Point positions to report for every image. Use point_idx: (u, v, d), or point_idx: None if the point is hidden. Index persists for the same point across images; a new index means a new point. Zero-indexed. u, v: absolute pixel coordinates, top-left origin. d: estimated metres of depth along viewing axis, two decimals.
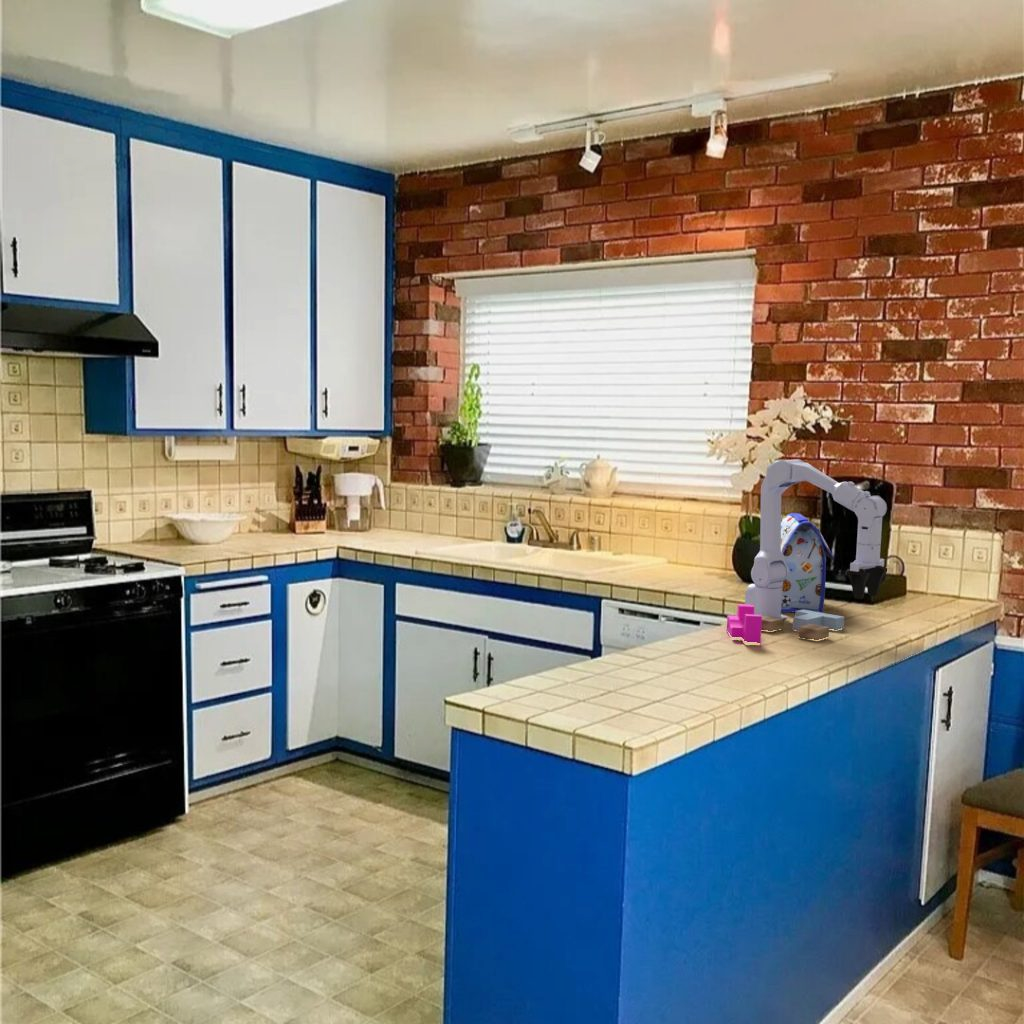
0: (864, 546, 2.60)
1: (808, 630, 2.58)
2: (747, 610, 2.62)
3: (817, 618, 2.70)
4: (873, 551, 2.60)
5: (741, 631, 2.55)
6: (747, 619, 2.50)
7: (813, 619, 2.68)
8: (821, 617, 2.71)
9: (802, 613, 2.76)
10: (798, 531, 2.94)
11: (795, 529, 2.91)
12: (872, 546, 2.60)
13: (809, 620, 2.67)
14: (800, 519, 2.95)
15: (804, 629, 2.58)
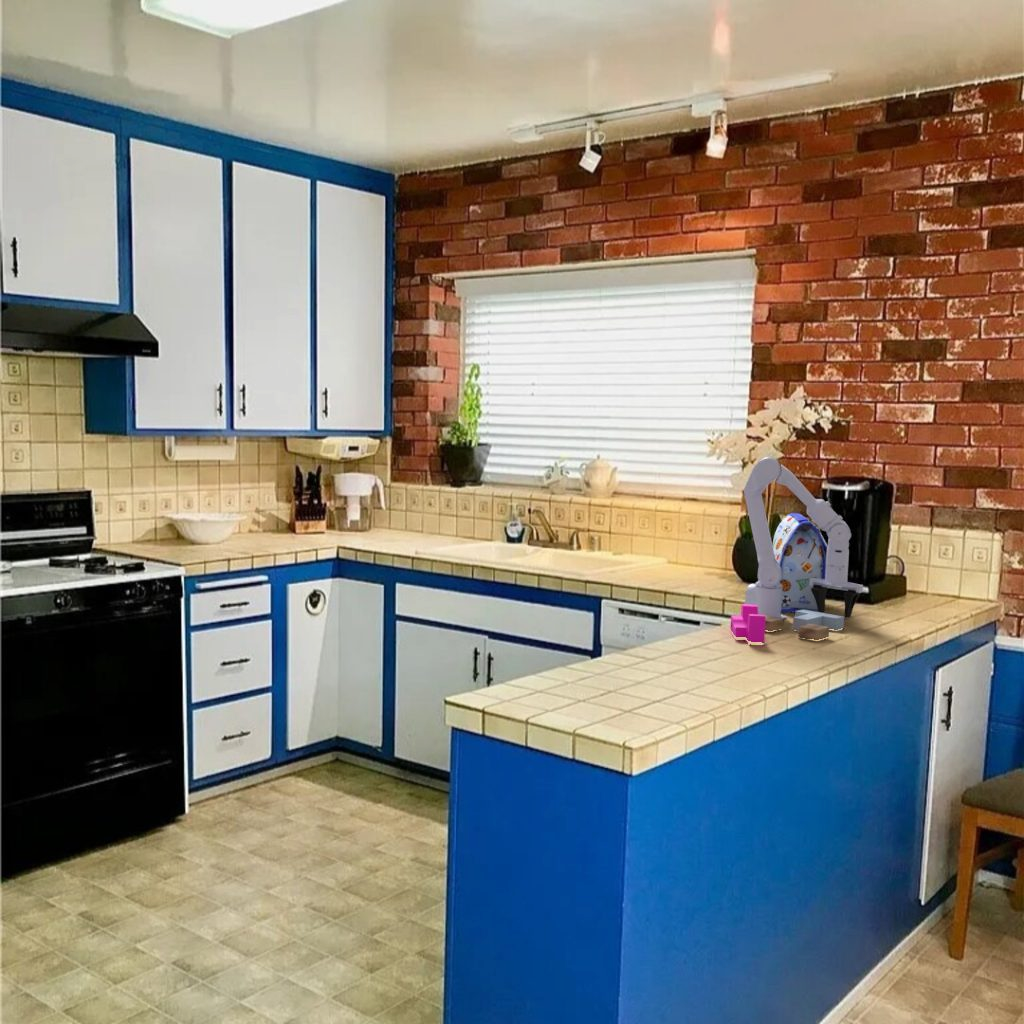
0: None
1: (808, 630, 2.58)
2: (751, 610, 2.62)
3: (817, 618, 2.70)
4: (826, 570, 2.79)
5: (745, 631, 2.55)
6: (751, 619, 2.50)
7: (813, 619, 2.68)
8: (821, 617, 2.71)
9: (802, 613, 2.76)
10: (798, 531, 2.94)
11: (795, 529, 2.91)
12: (826, 566, 2.79)
13: (809, 620, 2.67)
14: (800, 519, 2.95)
15: (804, 629, 2.58)
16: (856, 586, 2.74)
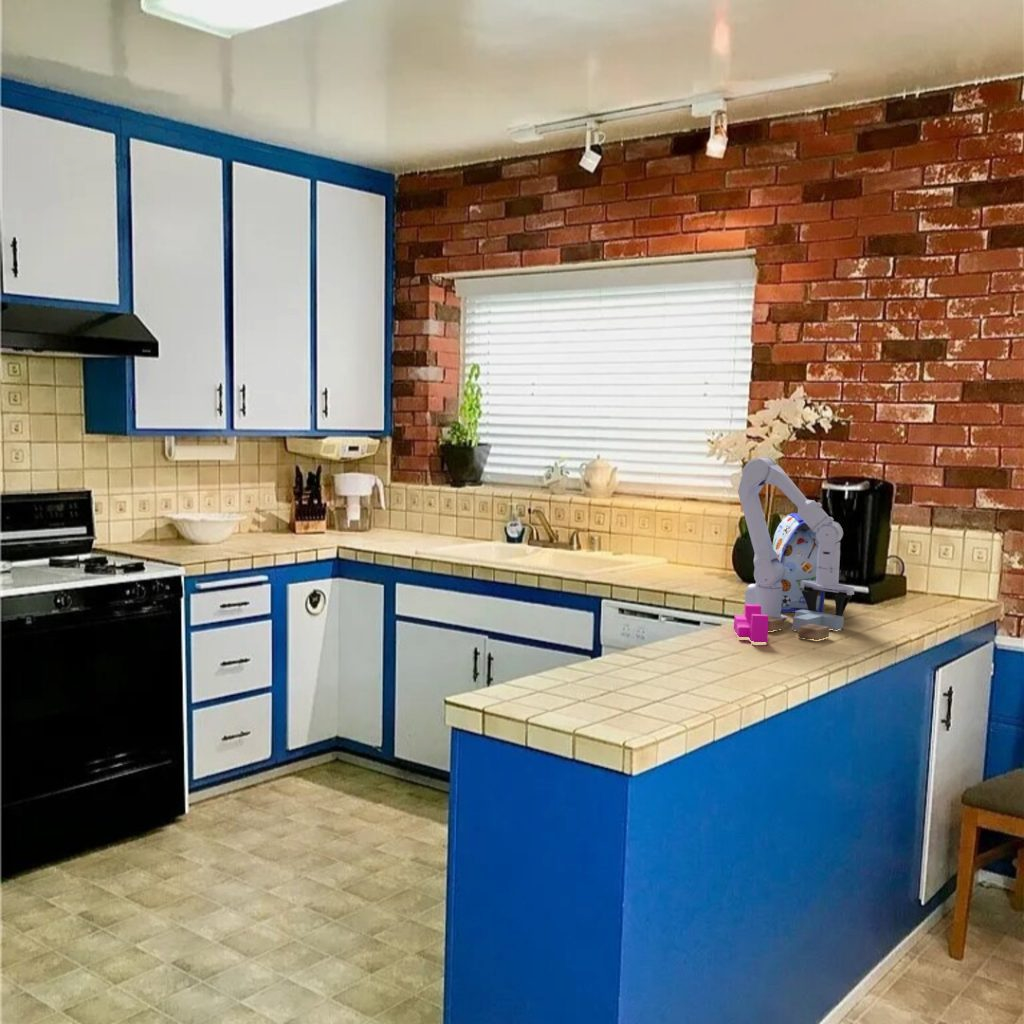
0: None
1: (808, 630, 2.58)
2: (754, 610, 2.63)
3: (817, 618, 2.70)
4: (817, 572, 2.75)
5: (748, 631, 2.56)
6: (754, 619, 2.51)
7: (813, 619, 2.68)
8: (821, 617, 2.71)
9: (802, 613, 2.76)
10: (798, 531, 2.94)
11: (795, 529, 2.91)
12: (817, 568, 2.75)
13: (809, 620, 2.67)
14: (800, 519, 2.95)
15: (804, 629, 2.58)
16: (847, 588, 2.71)
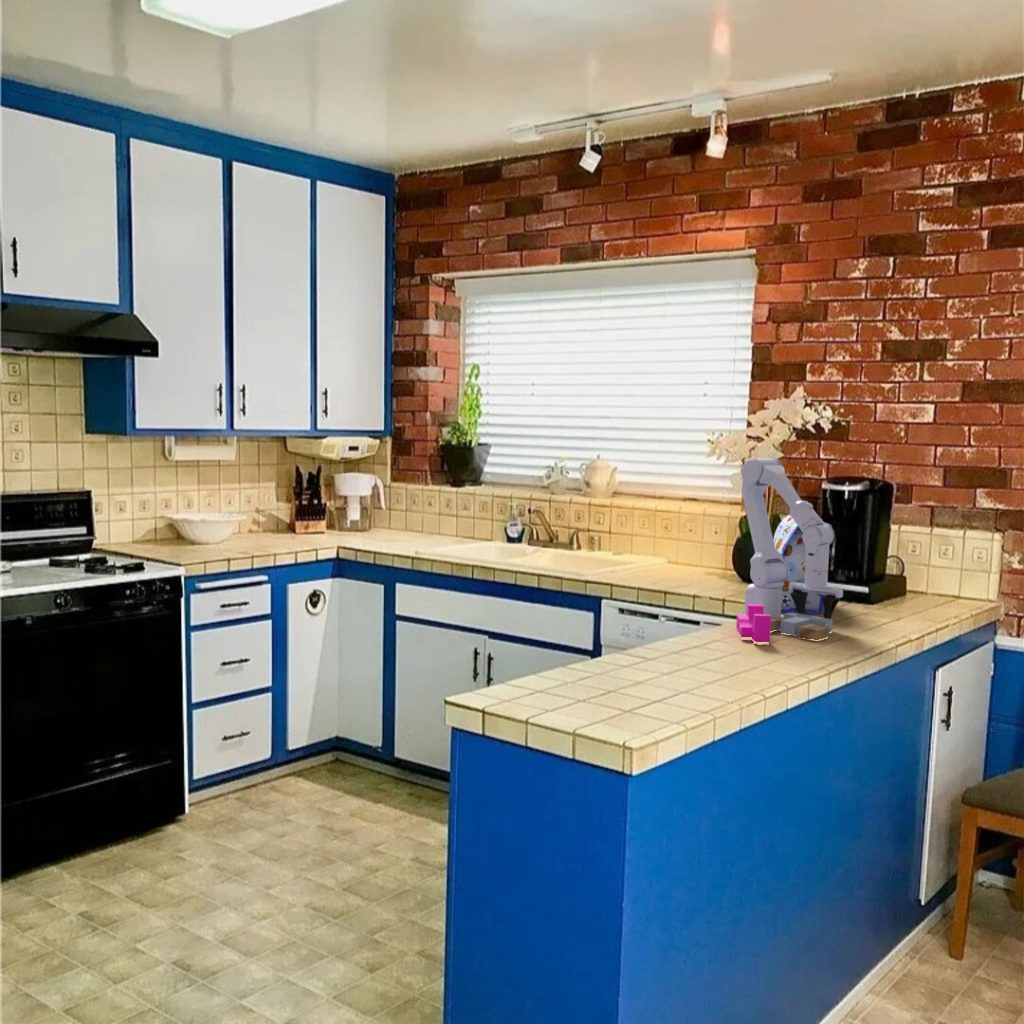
0: None
1: (808, 630, 2.58)
2: (757, 609, 2.63)
3: (805, 621, 2.65)
4: (805, 575, 2.71)
5: (750, 631, 2.56)
6: (756, 619, 2.51)
7: (801, 622, 2.64)
8: (809, 620, 2.67)
9: (790, 616, 2.71)
10: (798, 531, 2.94)
11: (795, 529, 2.91)
12: (805, 570, 2.71)
13: (797, 623, 2.62)
14: None
15: (804, 629, 2.58)
16: (836, 591, 2.67)
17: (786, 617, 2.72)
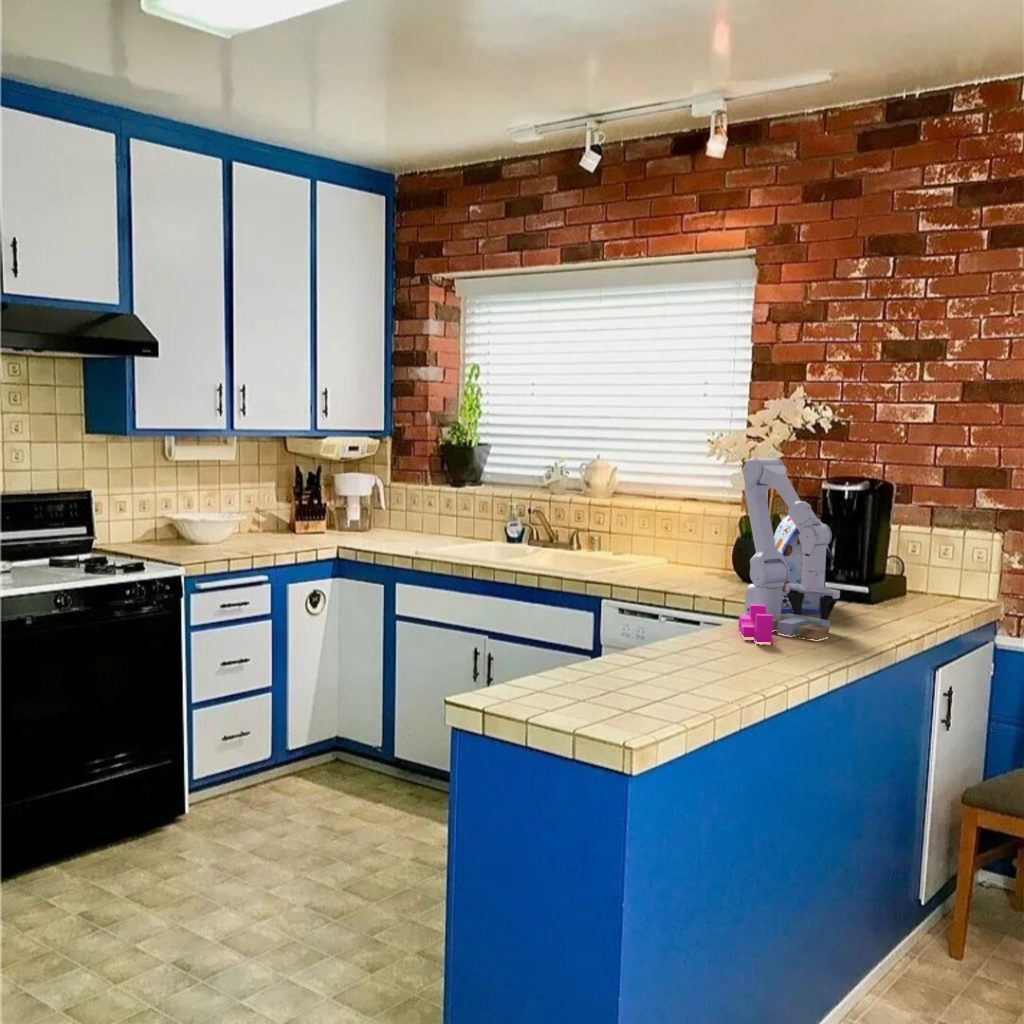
0: None
1: (808, 630, 2.58)
2: (759, 609, 2.63)
3: (802, 622, 2.64)
4: (802, 575, 2.70)
5: (752, 630, 2.56)
6: (758, 619, 2.51)
7: (798, 623, 2.63)
8: (806, 621, 2.66)
9: (787, 617, 2.70)
10: (798, 531, 2.94)
11: (795, 529, 2.91)
12: (802, 571, 2.70)
13: (793, 624, 2.61)
14: None
15: (804, 629, 2.58)
16: (832, 592, 2.65)
17: (783, 618, 2.71)
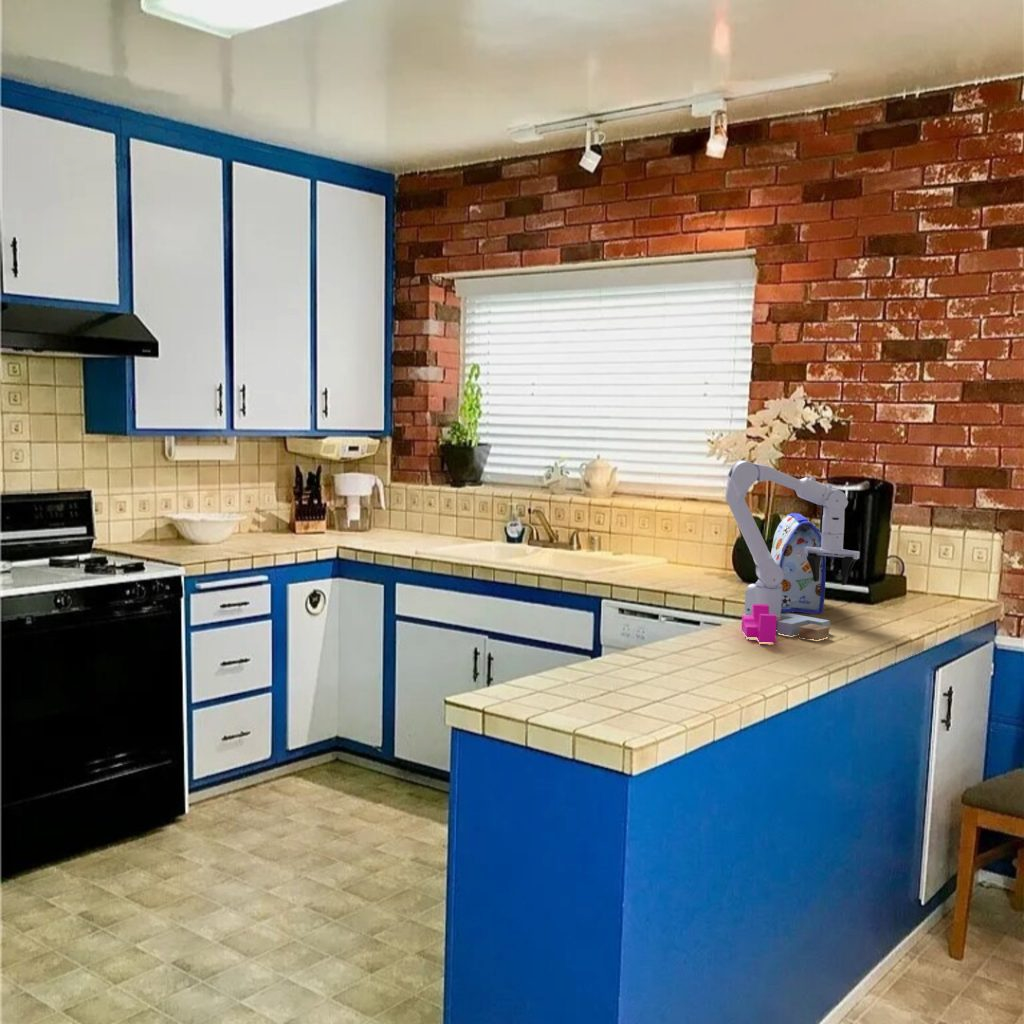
0: None
1: (808, 630, 2.58)
2: (762, 609, 2.63)
3: (802, 622, 2.64)
4: (823, 538, 2.80)
5: (756, 630, 2.56)
6: (762, 618, 2.51)
7: (798, 623, 2.63)
8: (806, 621, 2.66)
9: (787, 617, 2.70)
10: (798, 531, 2.94)
11: (795, 529, 2.91)
12: (822, 534, 2.80)
13: (793, 624, 2.61)
14: (800, 519, 2.95)
15: (804, 629, 2.58)
16: (854, 553, 2.77)
17: (783, 618, 2.71)
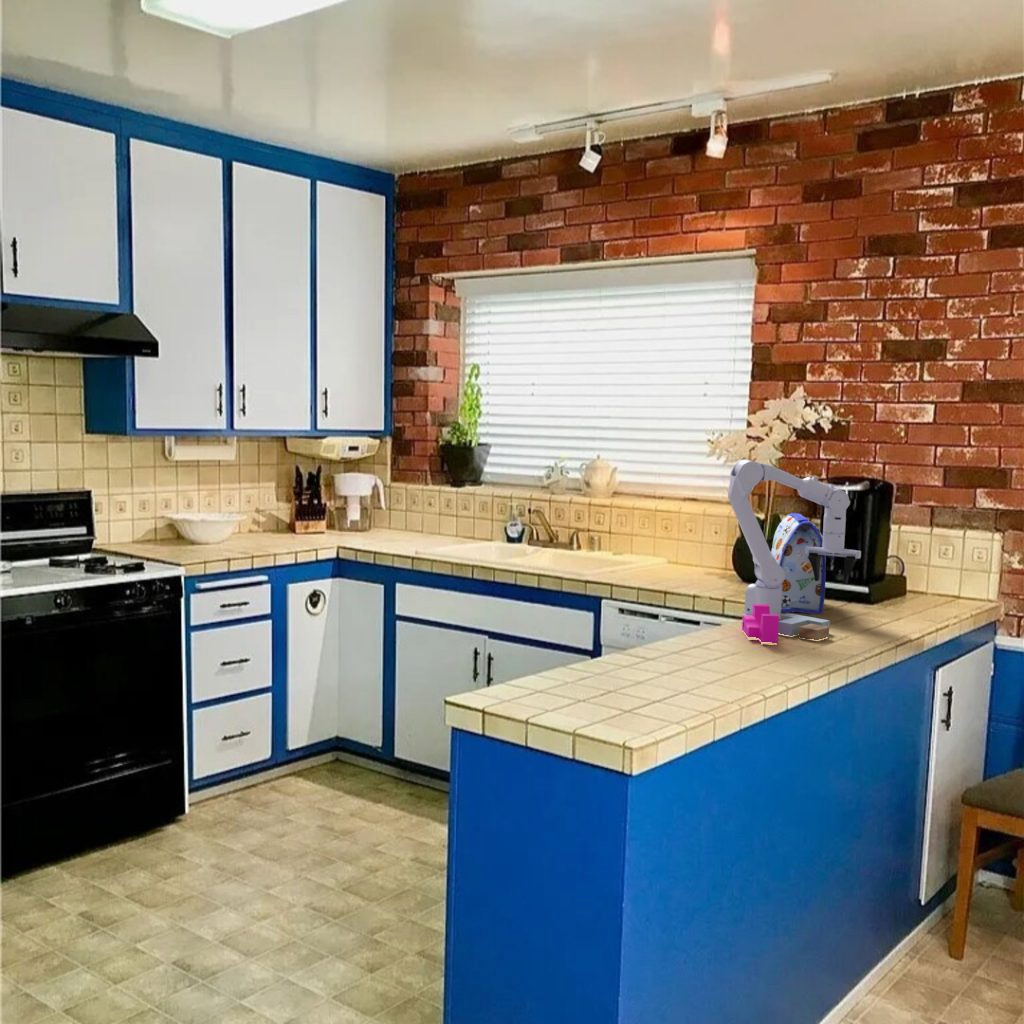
0: (823, 533, 2.83)
1: (808, 630, 2.58)
2: (763, 609, 2.63)
3: (802, 622, 2.64)
4: (824, 538, 2.81)
5: (757, 631, 2.56)
6: (764, 619, 2.51)
7: (798, 623, 2.63)
8: (806, 621, 2.66)
9: (787, 617, 2.70)
10: (798, 531, 2.94)
11: (795, 529, 2.91)
12: (824, 533, 2.82)
13: (793, 624, 2.61)
14: (800, 519, 2.95)
15: (804, 629, 2.58)
16: (856, 552, 2.79)
17: (783, 618, 2.71)
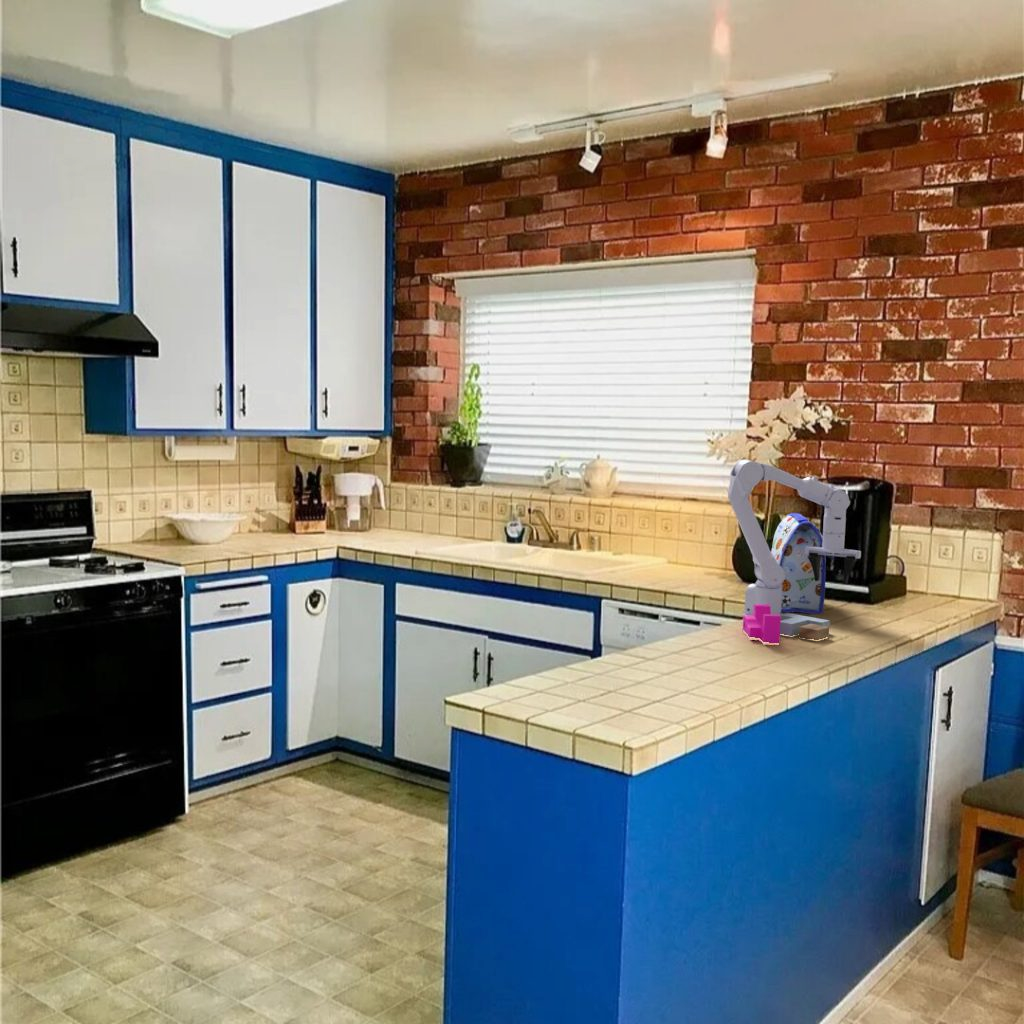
0: (823, 533, 2.83)
1: (808, 630, 2.58)
2: (764, 610, 2.63)
3: (802, 622, 2.64)
4: (824, 538, 2.81)
5: (759, 631, 2.56)
6: (766, 619, 2.51)
7: (798, 623, 2.63)
8: (806, 621, 2.66)
9: (787, 617, 2.70)
10: (798, 531, 2.94)
11: (795, 529, 2.91)
12: (824, 533, 2.82)
13: (793, 624, 2.61)
14: (800, 519, 2.95)
15: (804, 629, 2.58)
16: (856, 552, 2.79)
17: (783, 618, 2.71)
